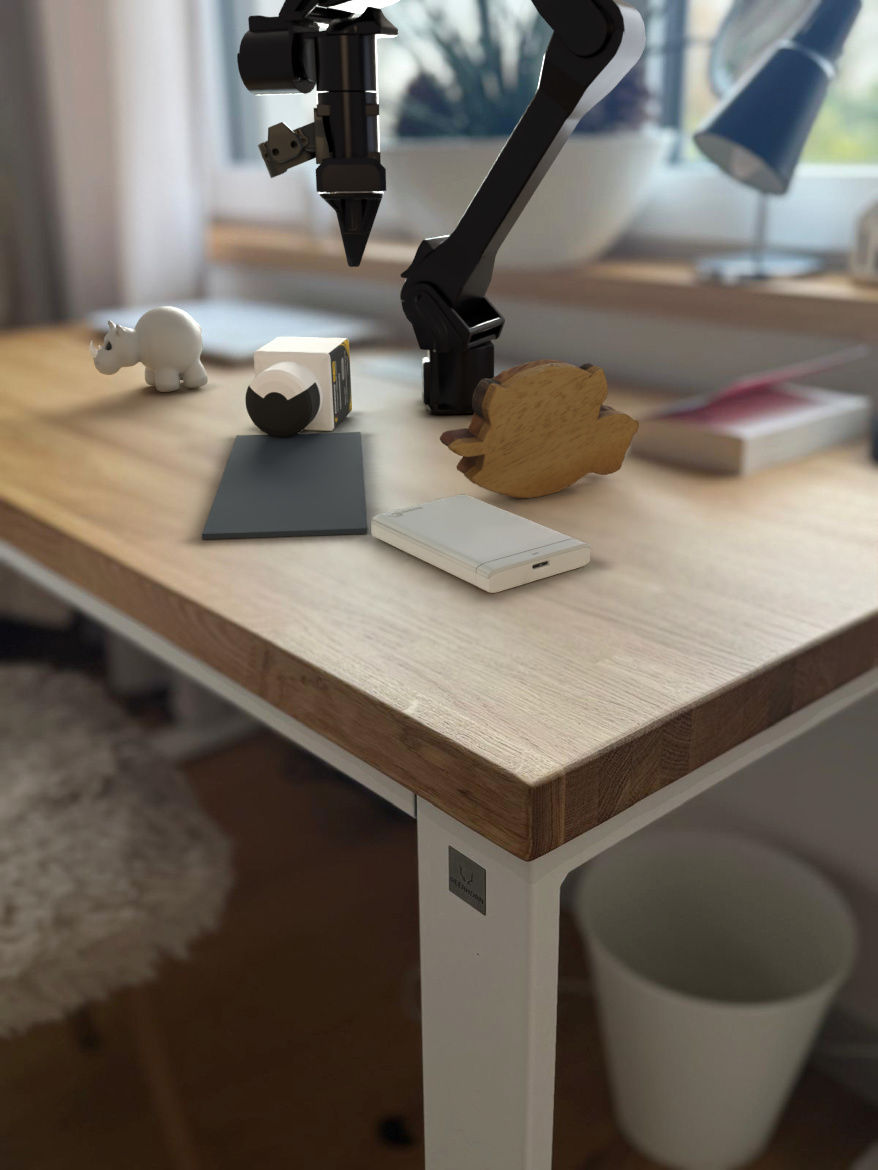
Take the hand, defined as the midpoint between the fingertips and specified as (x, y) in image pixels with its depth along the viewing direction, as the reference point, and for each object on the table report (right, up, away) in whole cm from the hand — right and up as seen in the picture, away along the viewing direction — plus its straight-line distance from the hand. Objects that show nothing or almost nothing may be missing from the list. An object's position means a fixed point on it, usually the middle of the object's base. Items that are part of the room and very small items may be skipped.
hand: (353, 266), depth 107 cm
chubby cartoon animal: (-22, -11, +9) cm, 26 cm away
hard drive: (+11, -29, -37) cm, 48 cm away
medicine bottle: (-3, -11, -3) cm, 12 cm away
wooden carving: (+16, -25, -25) cm, 39 cm away
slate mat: (-3, -23, -22) cm, 32 cm away
